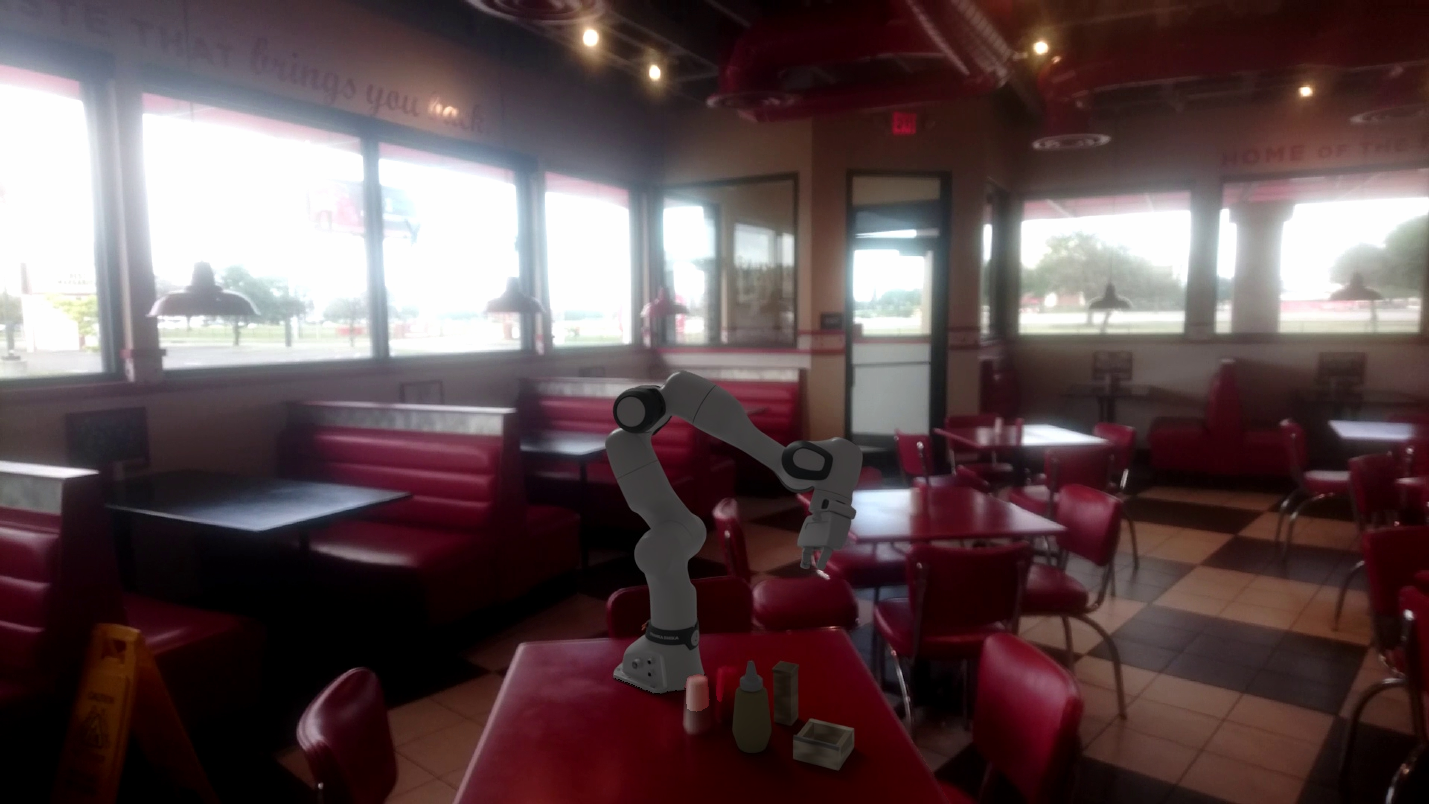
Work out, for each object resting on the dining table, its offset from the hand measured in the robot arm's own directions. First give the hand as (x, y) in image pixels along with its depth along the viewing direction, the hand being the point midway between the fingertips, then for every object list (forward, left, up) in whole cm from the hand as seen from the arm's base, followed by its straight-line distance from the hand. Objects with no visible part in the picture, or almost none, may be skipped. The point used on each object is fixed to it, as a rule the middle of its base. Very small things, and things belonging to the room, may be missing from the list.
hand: (811, 568), depth 179 cm
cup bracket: (+9, -17, -32) cm, 37 cm away
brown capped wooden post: (-3, -8, -32) cm, 33 cm away
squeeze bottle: (-5, -21, -32) cm, 39 cm away
